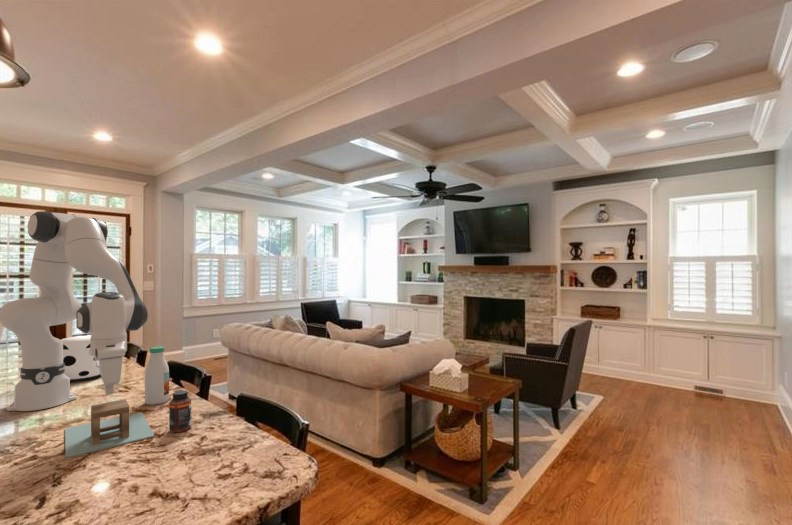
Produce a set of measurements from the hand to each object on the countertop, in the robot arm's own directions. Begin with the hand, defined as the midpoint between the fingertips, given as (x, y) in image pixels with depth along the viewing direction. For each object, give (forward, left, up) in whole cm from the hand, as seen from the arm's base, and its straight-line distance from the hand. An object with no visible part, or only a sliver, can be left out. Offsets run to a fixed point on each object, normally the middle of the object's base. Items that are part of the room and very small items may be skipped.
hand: (109, 393), depth 118 cm
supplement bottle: (+10, +17, -12) cm, 23 cm away
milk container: (-81, -4, -12) cm, 82 cm away
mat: (-1, 0, -12) cm, 12 cm away
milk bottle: (-23, +16, -12) cm, 30 cm away
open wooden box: (-1, 0, -7) cm, 7 cm away
